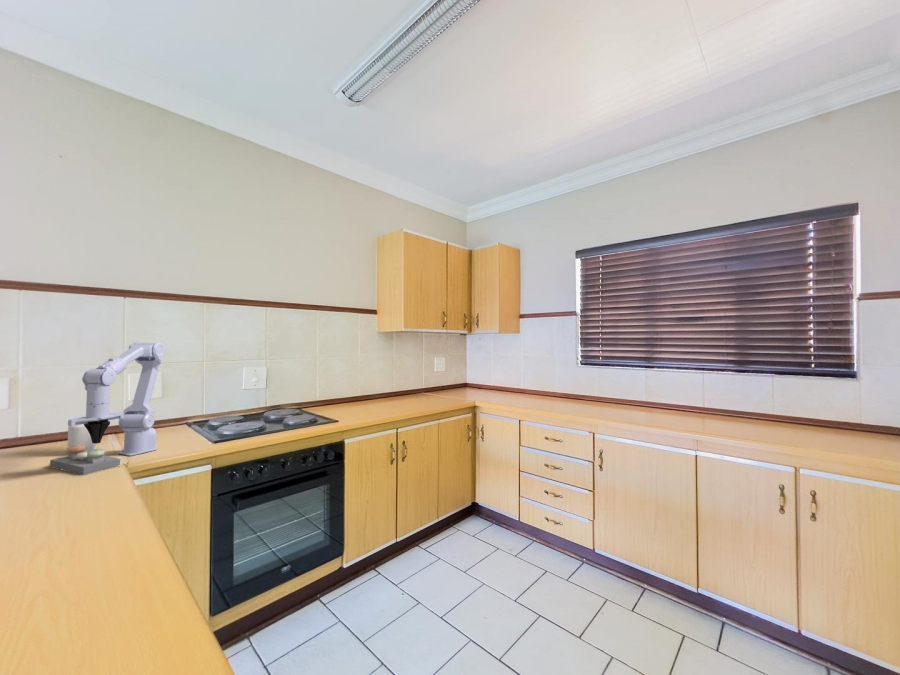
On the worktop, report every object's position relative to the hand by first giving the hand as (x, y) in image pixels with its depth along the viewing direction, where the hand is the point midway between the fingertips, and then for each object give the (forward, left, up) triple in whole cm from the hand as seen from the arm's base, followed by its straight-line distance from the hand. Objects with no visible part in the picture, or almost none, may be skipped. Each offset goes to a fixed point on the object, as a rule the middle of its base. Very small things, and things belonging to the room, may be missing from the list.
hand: (96, 442), depth 126 cm
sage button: (0, 0, -7) cm, 7 cm away
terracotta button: (0, -12, -7) cm, 14 cm away
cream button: (0, -6, -8) cm, 10 cm away
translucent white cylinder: (-9, -28, -9) cm, 31 cm away
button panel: (0, -6, -9) cm, 11 cm away
